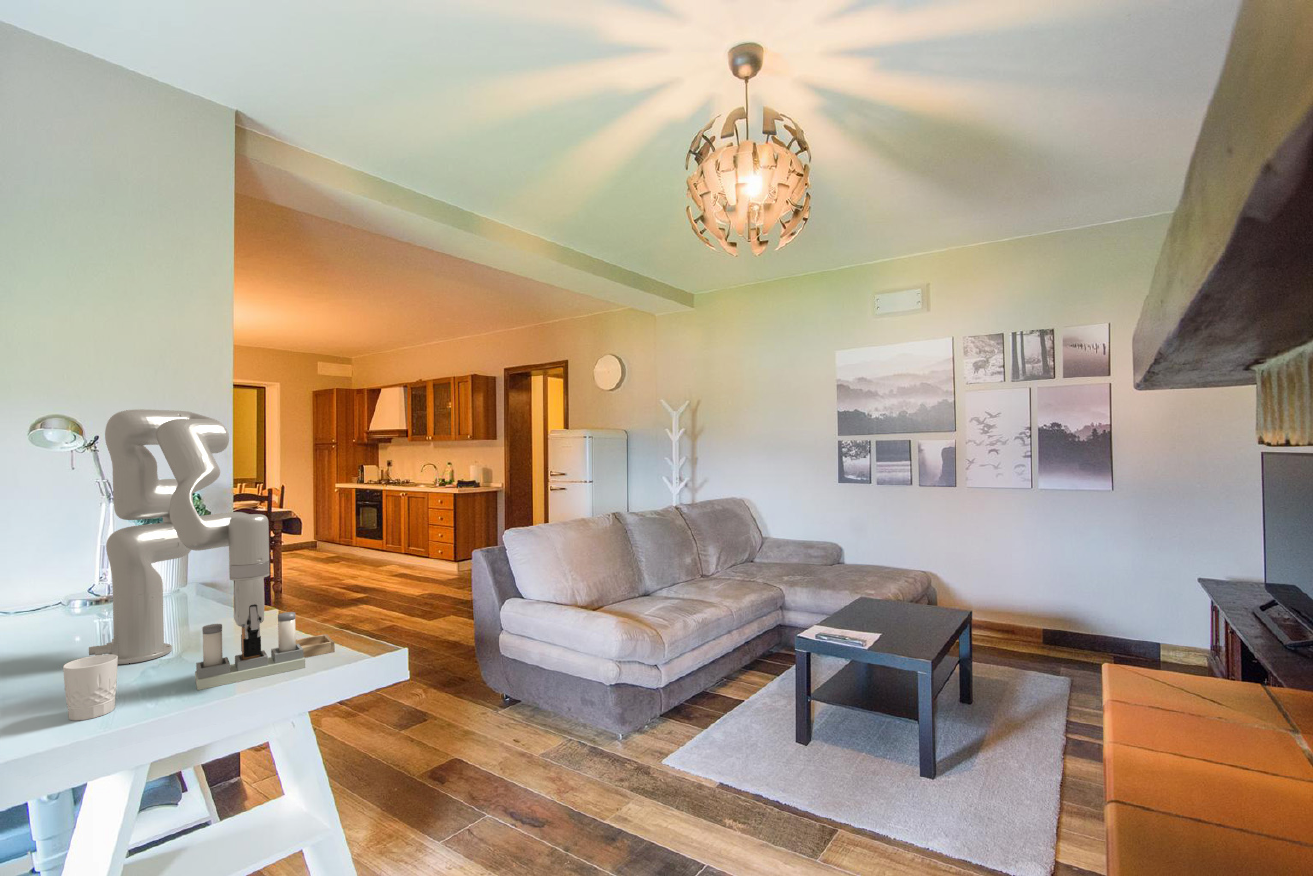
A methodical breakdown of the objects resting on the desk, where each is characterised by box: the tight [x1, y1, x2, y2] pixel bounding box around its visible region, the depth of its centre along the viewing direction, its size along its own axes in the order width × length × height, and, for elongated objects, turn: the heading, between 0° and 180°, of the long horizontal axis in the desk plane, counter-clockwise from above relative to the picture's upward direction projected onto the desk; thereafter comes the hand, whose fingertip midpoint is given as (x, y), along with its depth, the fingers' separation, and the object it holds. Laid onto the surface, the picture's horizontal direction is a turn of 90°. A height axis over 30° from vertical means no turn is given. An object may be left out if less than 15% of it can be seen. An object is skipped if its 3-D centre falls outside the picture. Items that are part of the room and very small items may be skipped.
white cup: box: [62, 654, 119, 721], centre depth 124 cm, size 8×8×10 cm
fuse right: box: [277, 611, 297, 653], centre depth 148 cm, size 4×4×10 cm
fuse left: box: [201, 623, 224, 668], centre depth 139 cm, size 4×4×10 cm
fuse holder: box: [194, 644, 306, 691], centre depth 143 cm, size 20×7×4 cm, turn 128°
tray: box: [296, 633, 335, 659], centre depth 158 cm, size 8×8×2 cm
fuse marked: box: [241, 621, 260, 660], centre depth 143 cm, size 4×4×10 cm
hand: (251, 652), depth 143 cm, fingers closed on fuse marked, 3 cm apart
